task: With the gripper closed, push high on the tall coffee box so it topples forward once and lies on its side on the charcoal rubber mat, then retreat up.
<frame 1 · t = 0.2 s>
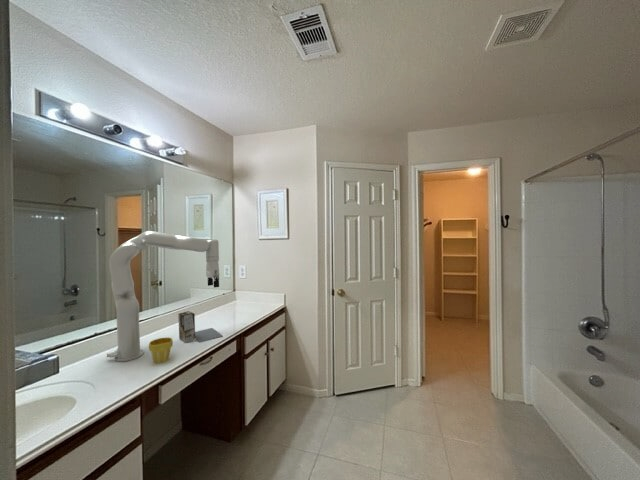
hand: (213, 286, 169), 31 cm above the counter, fingers open, 9 cm apart
plant pot: (161, 360, 136), on the counter
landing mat: (206, 335, 170), on the counter
coffee box: (187, 340, 163), on the counter
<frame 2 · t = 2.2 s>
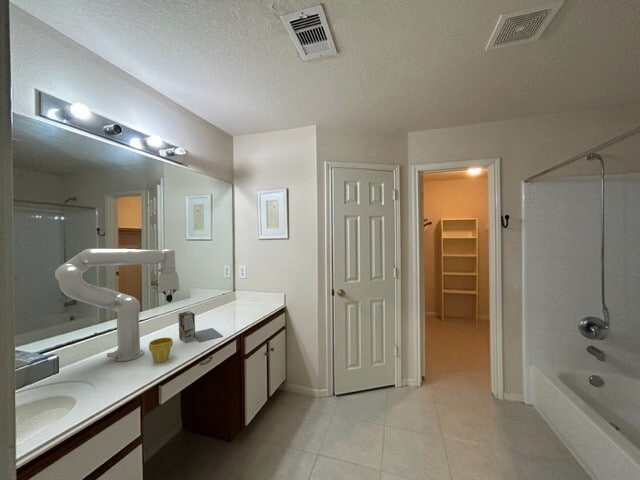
hand: (169, 301, 157), 25 cm above the counter, fingers closed
nothing on the counter moved.
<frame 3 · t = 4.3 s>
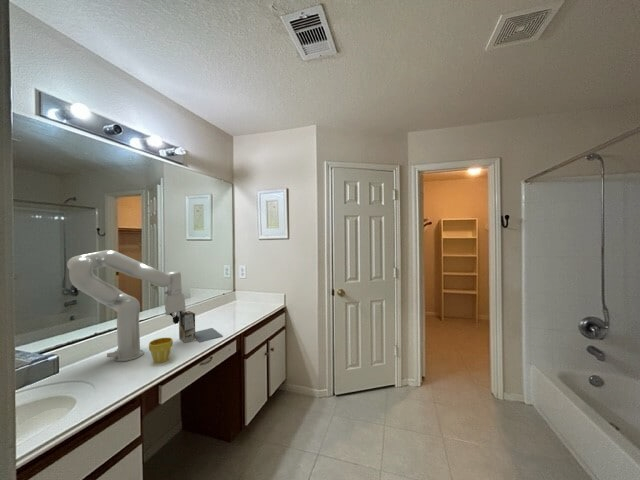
hand: (176, 323, 159), 11 cm above the counter, fingers closed
coffee box: (187, 340, 163), on the counter, touching gripper
everything else where it was.
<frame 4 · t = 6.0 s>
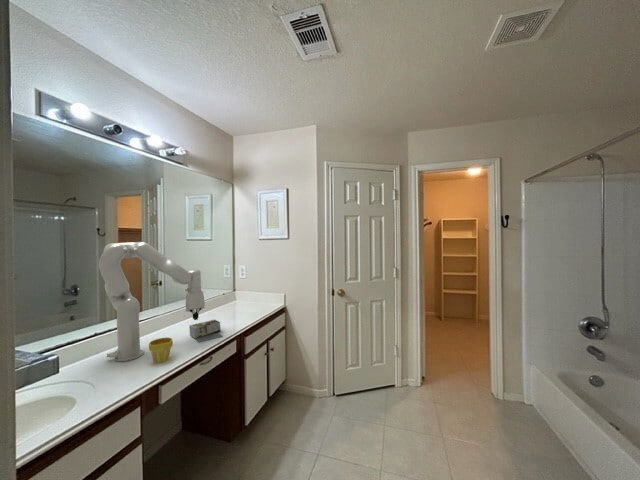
hand: (195, 319, 166), 11 cm above the counter, fingers closed
coffee box: (191, 331, 166), point 4 cm above the counter, touching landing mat
everything else where it was.
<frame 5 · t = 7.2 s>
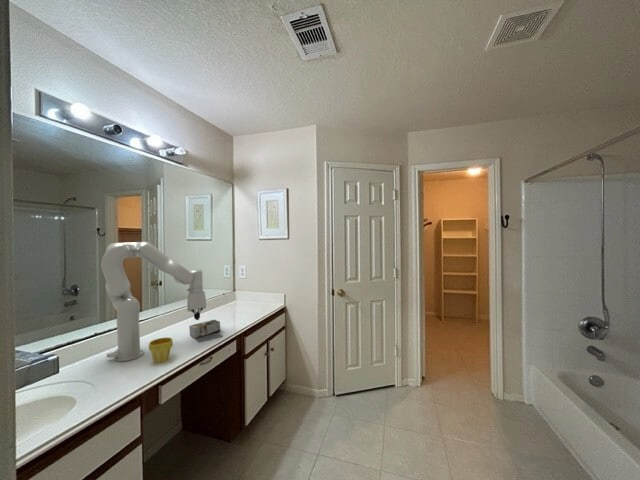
hand: (197, 319, 167), 11 cm above the counter, fingers closed
nothing on the counter moved.
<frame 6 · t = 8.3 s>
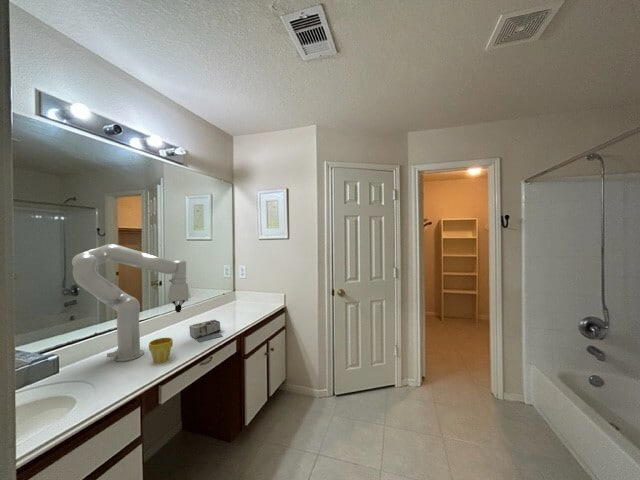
hand: (178, 311, 160), 18 cm above the counter, fingers closed
nothing on the counter moved.
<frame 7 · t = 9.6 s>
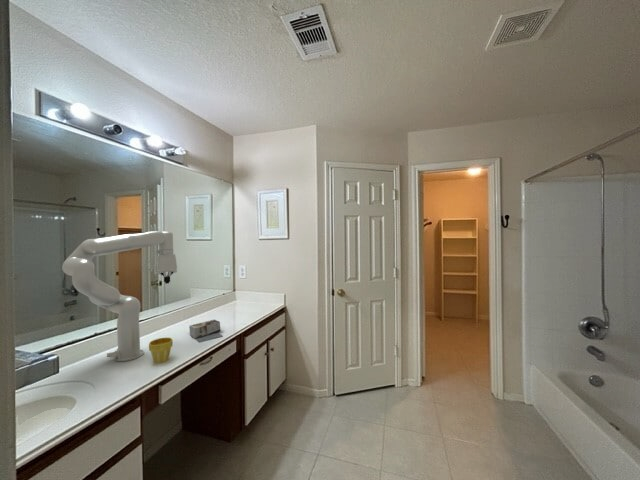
hand: (167, 283, 160), 35 cm above the counter, fingers closed
nothing on the counter moved.
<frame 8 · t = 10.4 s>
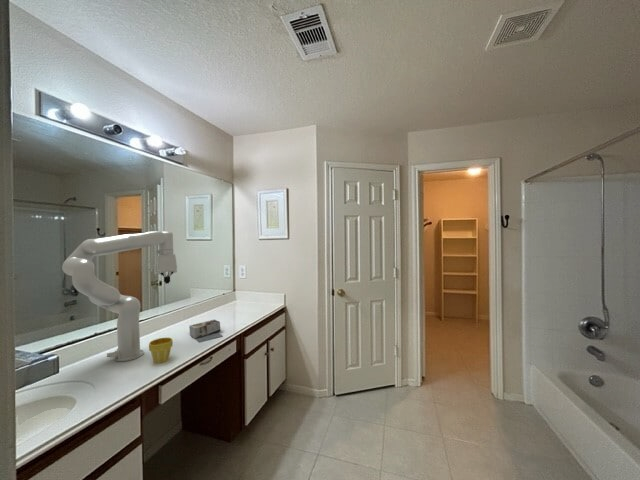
hand: (167, 283, 160), 35 cm above the counter, fingers closed
nothing on the counter moved.
at the end: coffee box tilted 90°; coffee box touching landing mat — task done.
